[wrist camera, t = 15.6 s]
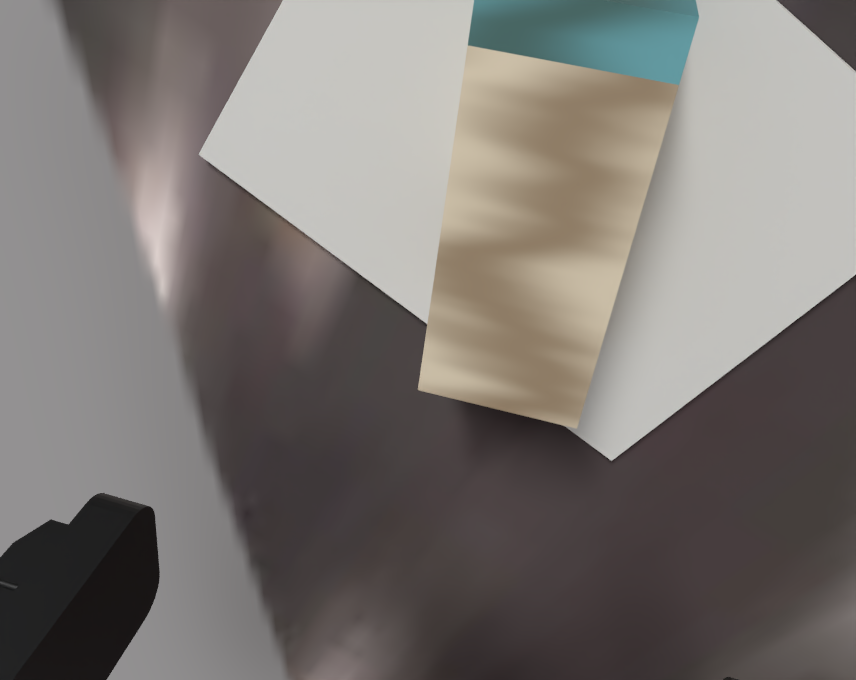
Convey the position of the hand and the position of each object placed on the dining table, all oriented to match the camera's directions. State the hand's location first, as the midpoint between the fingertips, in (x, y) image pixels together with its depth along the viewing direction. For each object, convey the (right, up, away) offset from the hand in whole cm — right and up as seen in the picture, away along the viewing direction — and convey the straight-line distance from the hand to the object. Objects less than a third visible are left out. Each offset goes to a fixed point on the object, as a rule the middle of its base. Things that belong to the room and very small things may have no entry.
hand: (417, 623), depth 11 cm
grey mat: (+4, +10, +15) cm, 18 cm away
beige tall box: (+3, +3, +16) cm, 16 cm away
